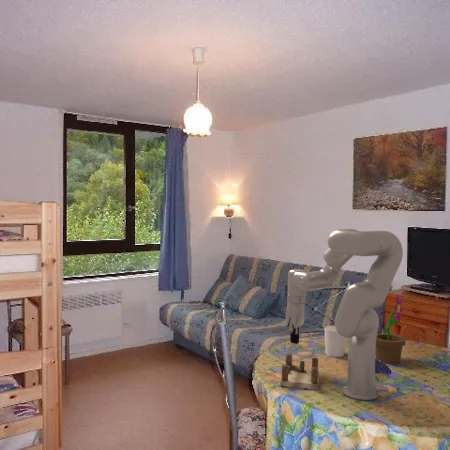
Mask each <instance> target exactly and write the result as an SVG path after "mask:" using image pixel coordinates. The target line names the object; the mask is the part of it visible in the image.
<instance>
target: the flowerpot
mask: <svg viewBox="0 0 450 450" xmlns="http://www.w3.org/2000/svg"><path fill="white" fill-rule="evenodd" d="M402 303H403V296H402V295H401V296H400V295H399V294H397V295H396V304H394V305H393V310H392V311H391V313H390V314H389V319H388V323H387V327H385V328H384V331H383V332H384V333H383V332H382V333H378V332H377V337H376V352H375V359H376V358H378V359H380V360H382V361H383V362H384V363H383V364H387V365H398V364H401V357H402V352H403V346H406V337H404V336H401V335H398V334H394V333H391V326H395V325H396V324H397V323H400V322H401V318H402V317H401V316H402V315H401V313H403V311H404V307H403V306H402ZM393 315H394V317H393Z"/></svg>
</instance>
